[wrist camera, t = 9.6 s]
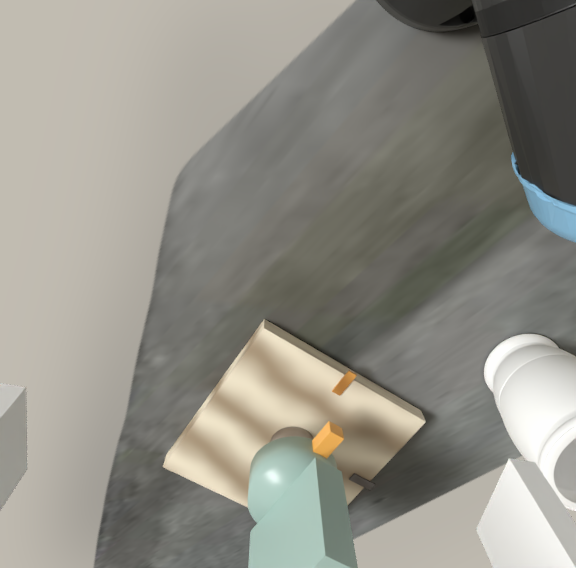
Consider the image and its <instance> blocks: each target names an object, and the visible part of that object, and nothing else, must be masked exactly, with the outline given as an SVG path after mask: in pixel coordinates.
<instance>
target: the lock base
mask: <svg viewBox="0 0 576 568" xmlns="http://www.w3.org/2000/svg"><path fill="white" fill-rule="evenodd" d="M328 421H330V422H332V423H334V424H336V425H337V426H339V427H341V428H342V430H343V436H344V440H343V441H342V442H341V443H340V444H339V445H338V447H337V448H336V449H335V450H334V451H333V452H332V455H333V456H334V458H335V461H336V464H337V469H338V470H340V471H342V477H343V483H344V489H345V495H346V501H347V505H348V504H349V503H350V502H351V501H352V500H353V499H354V498H355V497H356V496H357V495H358V494H359V493H360V491H361V490H362V489H363V488H366V489H368V490H371V489H372V488H373V487H374V486H375V483H373V482H371V480H372V479H373V478H374V477H375V476H376V474H377V473H378V472H379V471H380V470H381V469H382V468H383V467H384V466H385V465H386V464H387V463H388V462H389V461H390V460H391V458H392V457H393V456H394V455H395V454H396V453H397V452H398V451H399V450H400V449H401V448H402V447H403V446H404V445H405V444H406V443H407V441H408V440H409V439H410V438H411V437H412V436H413V435H414V434H415V433H416V432H417V431H418V430H419V429H420V428H421V427H422V425H423V424H424V423H425V422H426V421H425V419H424V416H423V414H422V412H421V410H419V409H418V408H416V407H414V406H412V405H411V404H409V403H407V402H406V401H404V400H402V399H401V398H399V397H397V396H395V395H394V394H392V393H390V392H389V391H387V390H385V389H383V388H382V387H380V386H378V385H377V384H375V383H373V382H371V381H370V380H368V379H366V378H365V377H363V376H361V375H359V374H358V373H356V372H354V371H353V370H351V369H349V368H347V367H346V366H344V365H342V364H341V363H339V362H337V361H335V360H334V359H332V358H330V357H329V356H327V355H325V354H323V353H322V352H320V351H318V350H317V349H315V348H313V347H311V346H310V345H308V344H306V343H305V342H303V341H301V340H299V339H298V338H296V337H294V336H293V335H291V334H289V333H288V332H286V331H284V330H282V329H281V328H279V327H277V326H276V325H274V324H272V323H270V322H269V321H267V320H265V319H264V320H263V322H262V323H261V324H260V326H259V327H258V329H257V330H256V331H255V333H254V334H253V335H252V337H251V338H250V340H249V341H248V342H247V344H246V345H245V347H244V348H243V349H242V351H241V352H240V353H239V355H238V356H237V358H236V359H235V360H234V362H233V363H232V365H231V366H230V367H229V369H228V370H227V371H226V373H225V374H224V376H223V377H222V378H221V380H220V381H219V383H218V384H217V385H216V387H215V388H214V389H213V391H212V392H211V394H210V395H209V396H208V398H207V399H206V401H205V402H204V403H203V405H202V406H201V407H200V409H199V410H198V412H197V413H196V414H195V416H194V417H193V419H192V420H191V421H190V423H189V424H188V425H187V427H186V428H185V430H184V431H183V432H182V434H181V435H180V436H179V438H178V439H177V441H176V442H175V443H174V445H173V446H172V448H171V449H170V450H169V452H168V453H167V455H166V458H165V461H164V465H163V467H164V468H166V469H168V470H170V471H172V472H174V473H176V474H179V475H181V476H183V477H185V478H187V479H189V480H191V481H193V482H195V483H198V484H200V485H202V486H204V487H206V488H208V489H210V490H212V491H214V492H217V493H219V494H221V495H223V496H225V497H227V498H229V499H231V500H233V501H236V502H238V503H240V504H242V505H244V506H246V507H248V489H249V475H250V465H251V462H252V459H253V457H254V456H255V454H256V453H257V452H258V451H259V450H260V449H261V448H262V447H263V446H264V445H266V444H268V443H269V442H271V441H273V440H276V439H279V438H283V437H290V436H298V437H306V438H310V439H314V438H315V437H316V435H317V434H318V433H319V432H320V431H321V430H322V428H323V427H324V426H325V425H326V424H327V423H328Z"/></svg>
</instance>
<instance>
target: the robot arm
mask: <svg viewBox="0 0 576 568" xmlns="http://www.w3.org/2000/svg"><path fill="white" fill-rule="evenodd" d="M377 1H378V3H379V4H380V5H381V6H382V7H383V8H384V9H385V10H386V11H387V12H388V13H389V14H391V15H392V16H393V17H395V18H396V19H398V20H399V21H401V22H403V23H405V24H407V25H409V26H412V27H414V28H417V29H421V30H426V31H433V32H445V31H454V30H459V29H462V28H466V27H469V26H473V25H476V24H478V25H479V28H480V32H481V38H482V41H483V45H484V49H485V52H486V56H487V60H488V63H489V67H490V70H491V74H492V78H493V81H494V85H495V89H496V92H497V96H498V99H499V103H500V107H501V110H502V114H503V117H504V121H505V125H506V128H507V132H508V136H509V139H510V143H511V146H512V150H513V153H512V155H511V159H512V165H513V169H514V172H515V174H516V175H517V176H518V178H519V180H520V182H521V183H522V185H523V188H524V191H525V194H526V197H527V200H528V203H529V206H530V208H531V210H532V212H533V214H534V215H535V216H536V217H537V219H538V220H539V221H540V222H541V223H542V225H544V226H545V227H546V228H547V229H548V230H550V231H552V232H553V233H555V234H557V235H558V236H560V237H562V238H565V239H567V240H570V241H572V242H576V0H377ZM26 470H27V410H26V387H23V386H16V385H10V384H2V383H0V510H1V509H2V507H3V506H4V504H5V503H6V501H7V500H8V498H9V497H10V495H11V494H12V492H13V490H14V489H15V487H16V486H17V484H18V483H19V481H20V480H21V478H22V476H23V475H24V473H25V472H26ZM476 530H477V532H478V535H479V537H480V539H481V542H482V544H483V546H484V548H485V551H486V553H487V555H488V558H489V560H490V562H491V564H492V567H493V568H576V523H575V521H574V520H573V518H572V517H571V516H570V514H569V512H568V511H567V509H566V508H565V506H564V505H563V503H562V502H561V500H560V499H559V497H558V496H557V494H556V493H555V491H554V490H553V489H552V487H551V486H550V484H549V483H548V481H547V480H546V478H545V477H544V475H543V474H542V472H541V471H540V469H539V468H538V466H537V465H536V463H535V462H531V461H523V460H517V459H510V458H509V460H508V462H507V464H506V466H505V468H504V471H503V473H502V475H501V477H500V479H499V481H498V484H497V486H496V488H495V490H494V492H493V494H492V496H491V498H490V501H489V503H488V505H487V507H486V509H485V511H484V513H483V515H482V517H481V520H480V522H479V524H478V526H477V528H476Z"/></svg>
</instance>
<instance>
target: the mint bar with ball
mask: <svg viewBox="0 0 576 568" xmlns="http://www.w3.org/2000/svg"><path fill="white" fill-rule="evenodd" d="M343 440H344V436H343V430H342V428H341V427H339V426H337V425H336V424H334V423H332V422H330V421H328V423H327V424H326V425H325V426H324V427H323V428H322V430H321V431H320V432H319V433H318V434H317V435H316V437H315V438H314V439H310V438H306V437H298V436H290V437H283V438H279V439H276V440H273V441H271V442H269V443H268V444H266V445H264V446H263V447H262V448H261V449H260V450H259V451H258V452H257V453H256V454H255V456H254V457H253V459H252V462H251V465H250V475H249V489H248V508H249V511H250V514H251V516H252V517H253V519H254V520H255V521H256V522H257V525H256V526H255V527H254V528H253V529H252V530H251V533H250V550H249V567H248V568H358V567H357V561H356V555H355V549H354V543H353V537H352V531H351V525H350V519H349V513H348V507H347V501H346V495H345V489H344V483H343V477H342V471H340V470H338V469H337V464H336V461H335V458H334V456H333V455H332V452H333V451H334V450H335V449H336V448H337V447H338V445H339V444H340V443H341V442H342V441H343Z"/></svg>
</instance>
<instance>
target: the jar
mask: <svg viewBox="0 0 576 568" xmlns="http://www.w3.org/2000/svg"><path fill="white" fill-rule="evenodd" d="M484 377H485V381H486V384H487V386H488V387H489V389H490V390H491V391H492V392H493V393H494V398H495V402H496V405H497V407H498V410H499V412H500V414H501V416H502V419H503V422H504V425H505V427H506V429H507V432H508V434H509V436H510V437H511V439H512V441H513V443H514V444H515V446H516V447H517V449H518V450H519V451H520V453H521V454H522V455H523V457H524V458H525V459H526V460H527V461H531V462H535V463H536V465H537V466H538V468H539V469H540V471H541V472H542V474H543V475H544V477H545V478H546V480H547V481H548V483H549V484H550V486H551V487H552V489H553V490H554V491H555V493H556V494H557V496H558V497H559V499H560V500H561V502H562V503H563V505H564V506H565V508H567V509H570V510H573V511H576V356H574V355H572V354H570V353H568V352H566V351H564V350H562V349H559V348H558V346H557V345H556V344H555V343H554V342H553V341H552V340H550V339H549V338H547V337H544V336H542V335H538V334H521V335H517V336H513V337H511V338H509V339H507V340H505V341H503V342H502V343H500V344H499V345H498V346H497V347H496V348H495V349H494V350H493V351H492V352H491V353H490V355H489V357H488V358H487V361H486V363H485V367H484Z"/></svg>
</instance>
